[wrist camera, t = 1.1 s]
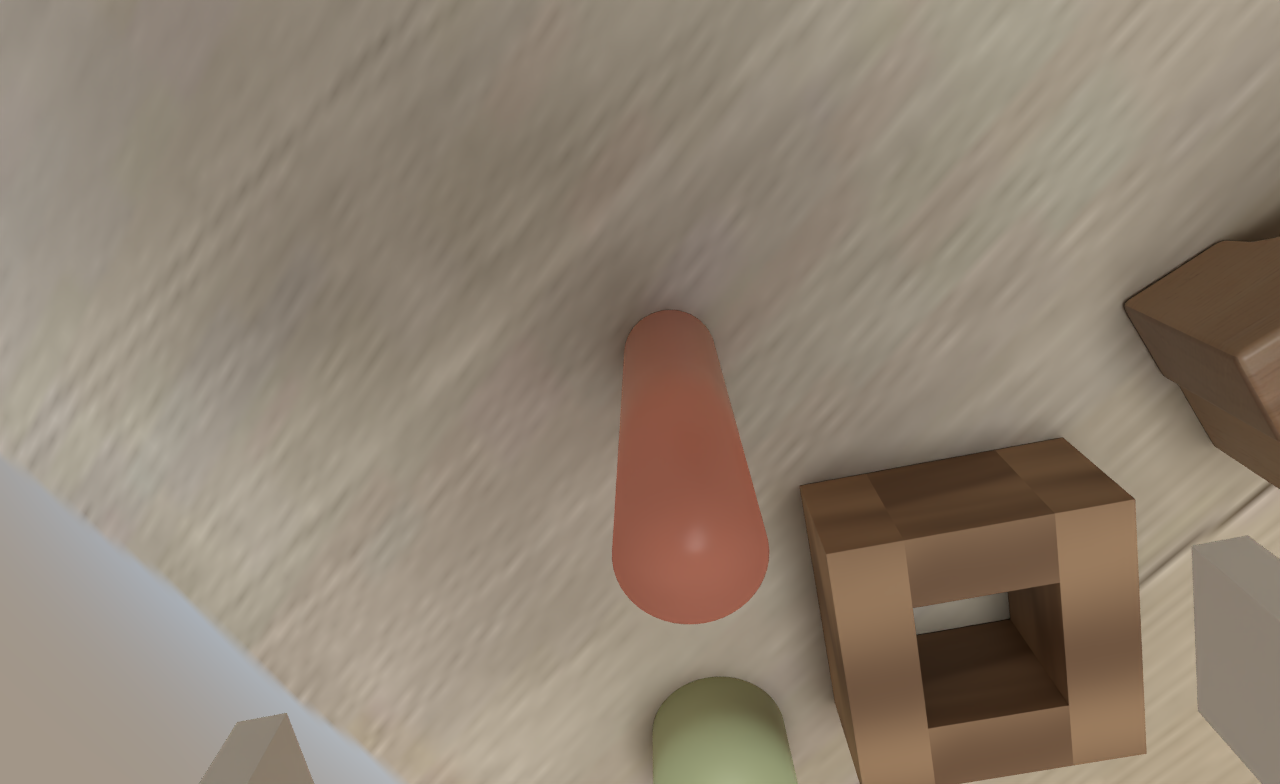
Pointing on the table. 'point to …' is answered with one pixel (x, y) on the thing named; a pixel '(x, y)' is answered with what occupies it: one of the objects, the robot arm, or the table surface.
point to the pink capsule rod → (682, 480)
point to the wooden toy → (1223, 345)
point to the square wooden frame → (988, 653)
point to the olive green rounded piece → (720, 736)
